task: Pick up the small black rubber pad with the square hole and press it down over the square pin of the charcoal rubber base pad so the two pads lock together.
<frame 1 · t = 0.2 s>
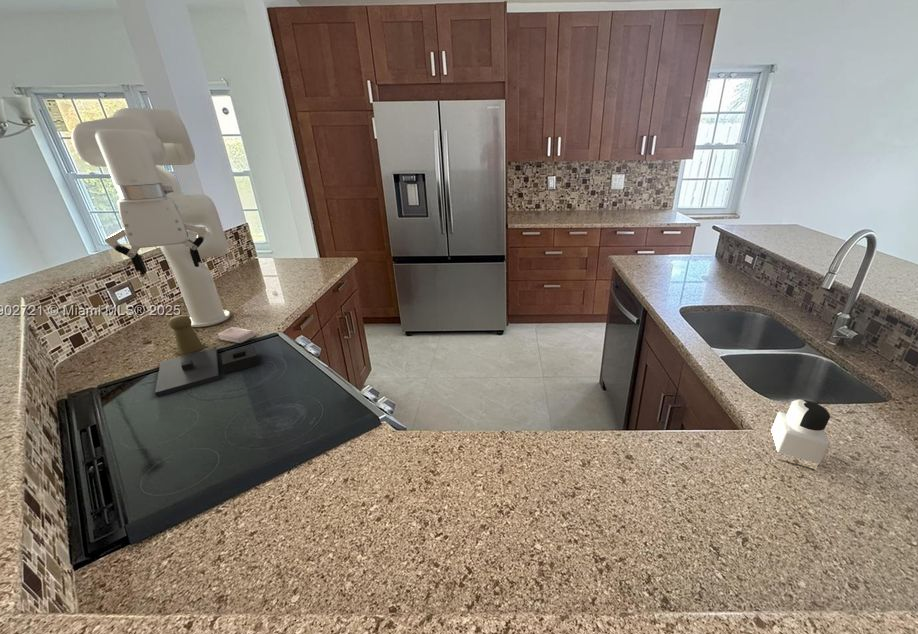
hand: (171, 269, 86), 31 cm above the counter, tool pointing down, fingers open, 9 cm apart
top pad: (242, 364, 106), on the counter
soap bar: (237, 338, 120), on the counter
cork: (191, 349, 113), on the counter
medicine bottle: (790, 453, 77), on the counter
base pad: (190, 371, 102), on the counter
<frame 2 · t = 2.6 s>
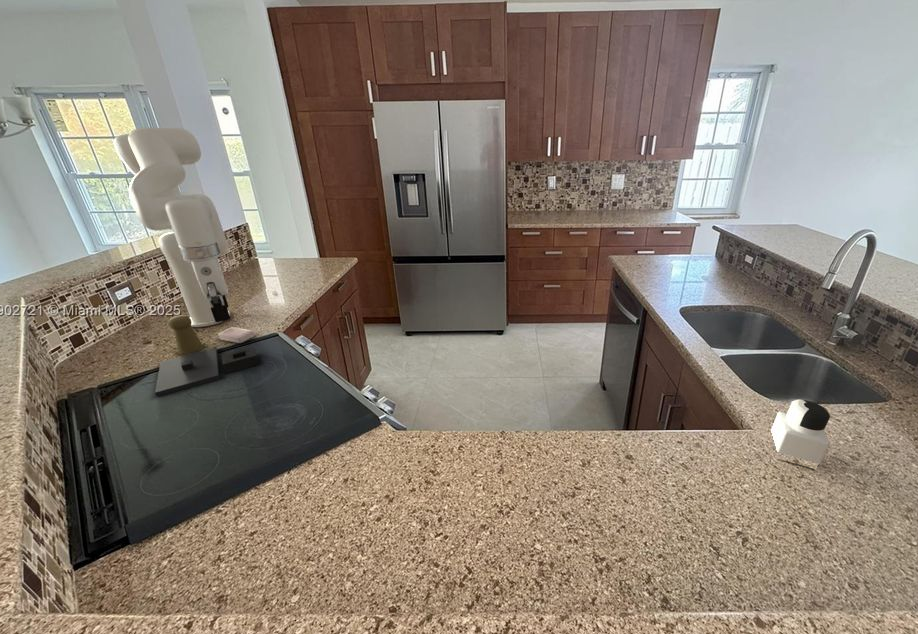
hand: (222, 314, 98), 16 cm above the counter, tool pointing down, fingers open, 9 cm apart
nothing on the counter moved.
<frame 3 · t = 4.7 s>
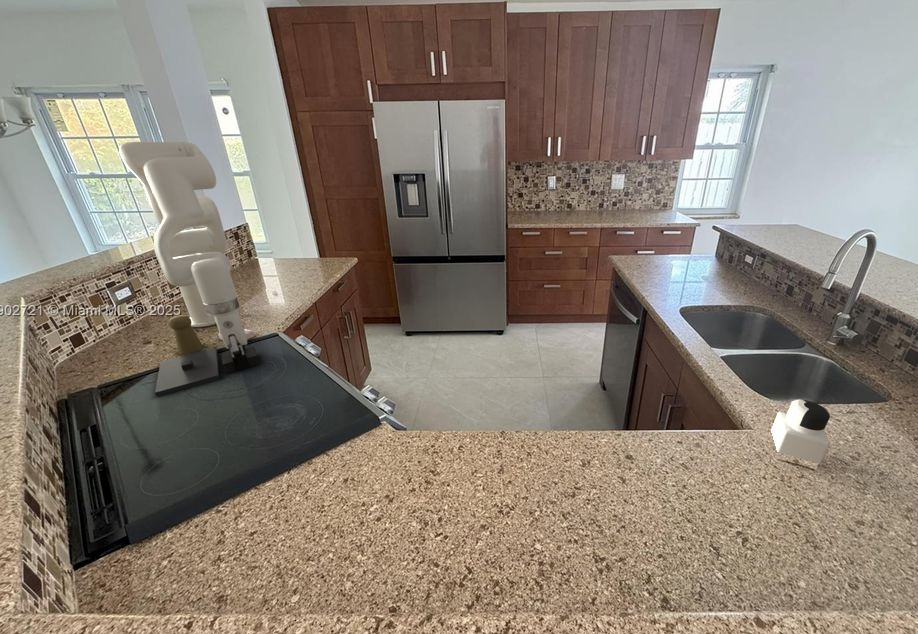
hand: (241, 362, 106), 1 cm above the counter, tool pointing down, fingers closed on top pad, 6 cm apart
top pad: (242, 364, 106), on the counter, touching gripper
everything else where it was.
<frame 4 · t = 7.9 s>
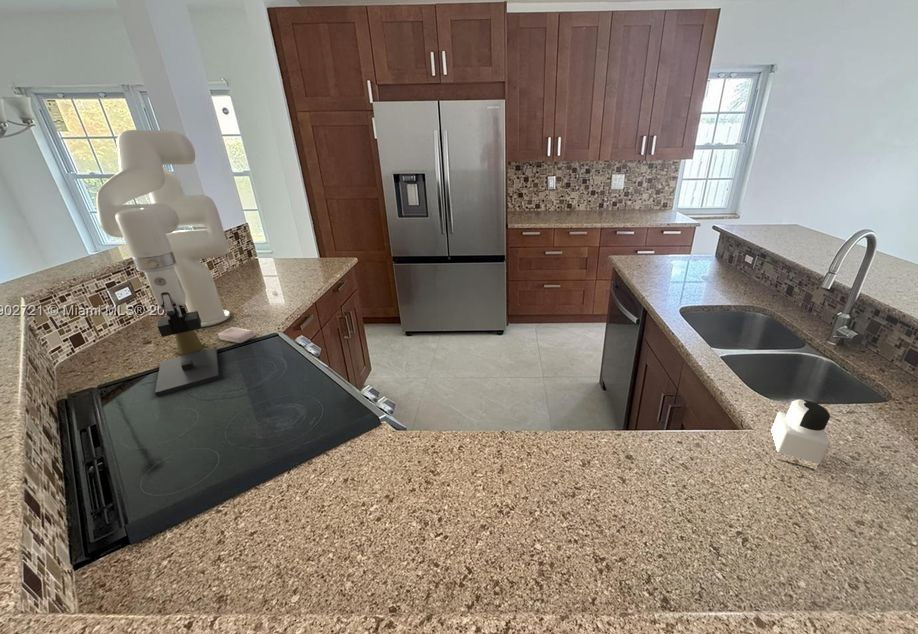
hand: (181, 326, 97), 14 cm above the counter, tool pointing down, fingers closed on top pad, 6 cm apart
top pad: (182, 328, 97), point 13 cm above the counter, touching gripper
everything else where it was.
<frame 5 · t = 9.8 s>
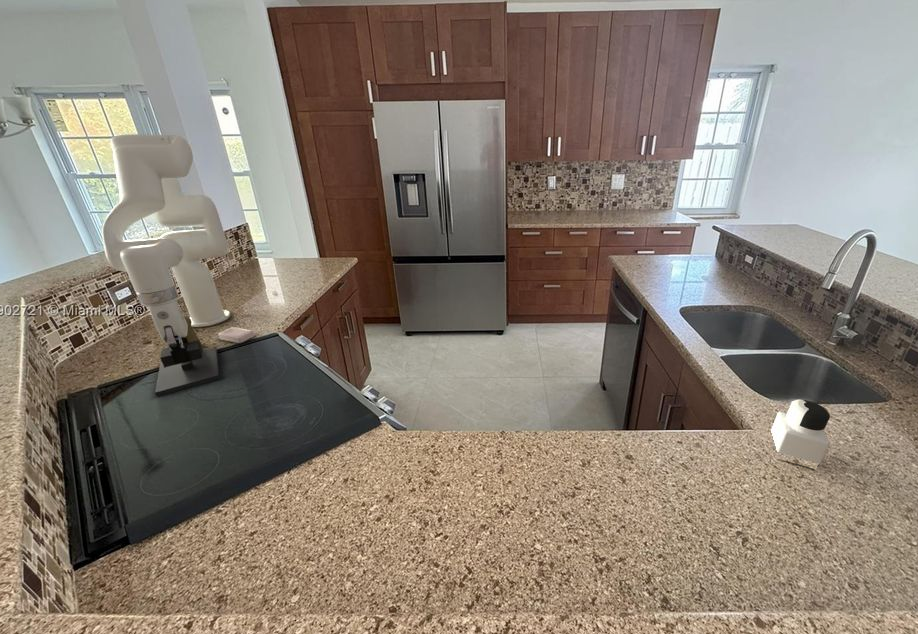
hand: (183, 356, 100), 5 cm above the counter, tool pointing down, fingers closed on top pad, 6 cm apart
top pad: (184, 358, 100), point 4 cm above the counter, touching gripper
everything else where it was.
when the fingers open (2 cm above the counter, at t = 11.1 s): top pad stays where it is, resting on base pad.
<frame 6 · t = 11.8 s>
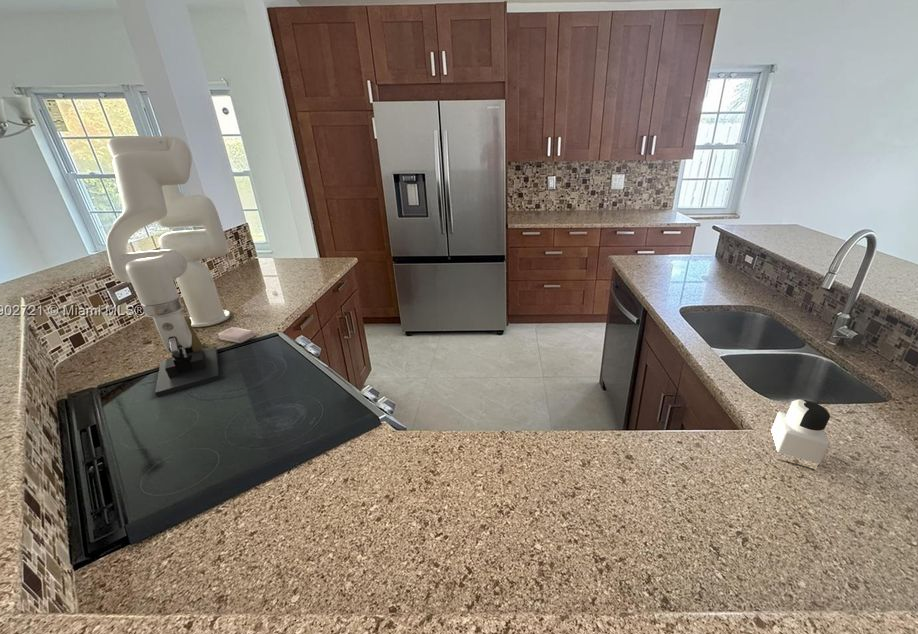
hand: (186, 363, 101), 3 cm above the counter, tool pointing down, fingers open, 9 cm apart
top pad: (188, 368, 102), point 1 cm above the counter, touching base pad
everything else where it was.
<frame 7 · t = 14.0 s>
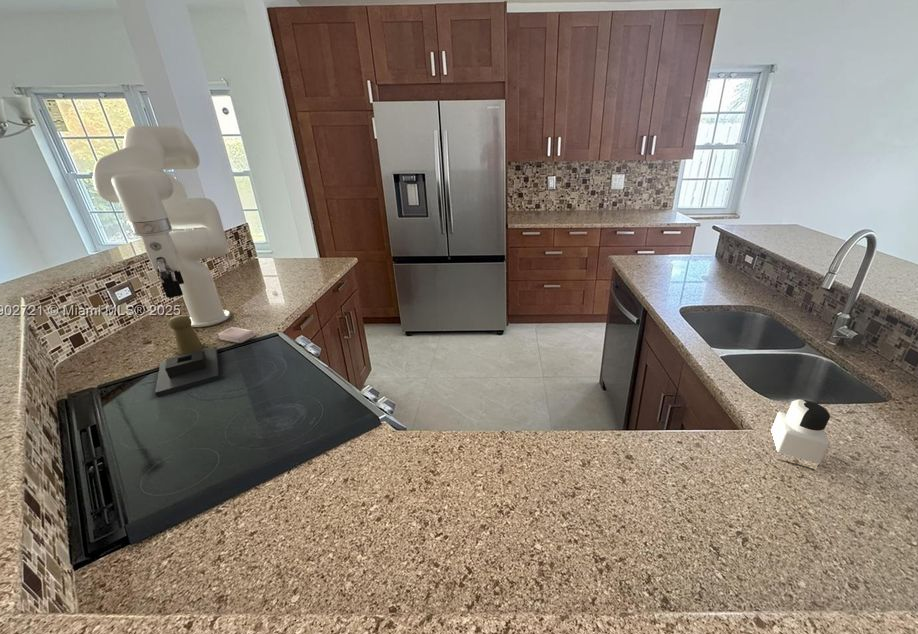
hand: (176, 290, 99), 22 cm above the counter, tool pointing down, fingers open, 9 cm apart
nothing on the counter moved.
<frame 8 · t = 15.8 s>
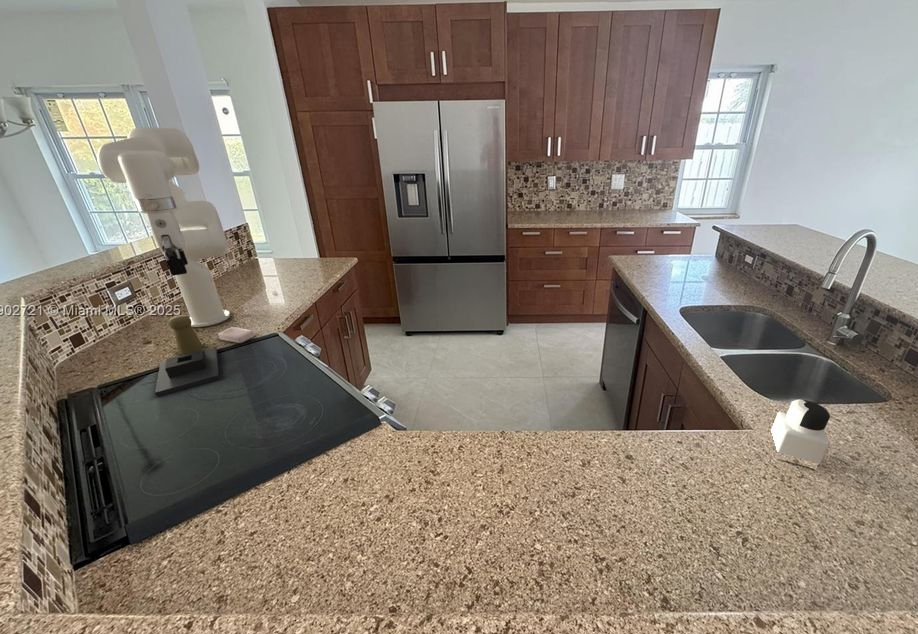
hand: (180, 269, 101), 26 cm above the counter, tool pointing down, fingers open, 9 cm apart
nothing on the counter moved.
at the end: top pad 0.1 cm off-centre on the base pad, point 1.2 cm above the base pad's base; top pad tilted 0°; the gripper is holding nothing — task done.
